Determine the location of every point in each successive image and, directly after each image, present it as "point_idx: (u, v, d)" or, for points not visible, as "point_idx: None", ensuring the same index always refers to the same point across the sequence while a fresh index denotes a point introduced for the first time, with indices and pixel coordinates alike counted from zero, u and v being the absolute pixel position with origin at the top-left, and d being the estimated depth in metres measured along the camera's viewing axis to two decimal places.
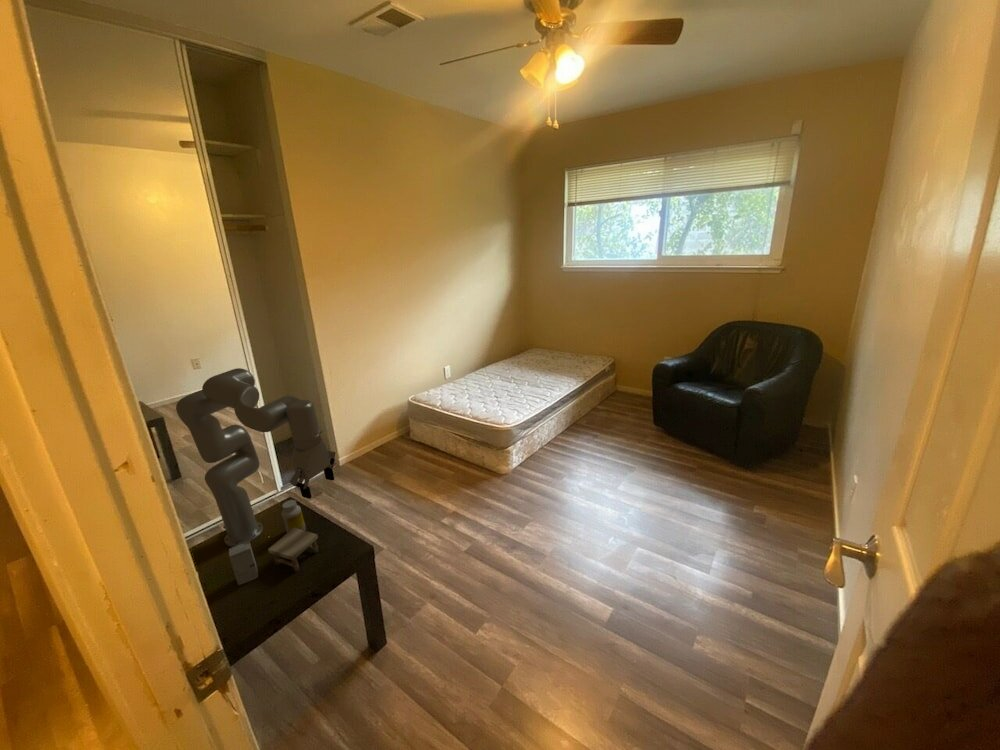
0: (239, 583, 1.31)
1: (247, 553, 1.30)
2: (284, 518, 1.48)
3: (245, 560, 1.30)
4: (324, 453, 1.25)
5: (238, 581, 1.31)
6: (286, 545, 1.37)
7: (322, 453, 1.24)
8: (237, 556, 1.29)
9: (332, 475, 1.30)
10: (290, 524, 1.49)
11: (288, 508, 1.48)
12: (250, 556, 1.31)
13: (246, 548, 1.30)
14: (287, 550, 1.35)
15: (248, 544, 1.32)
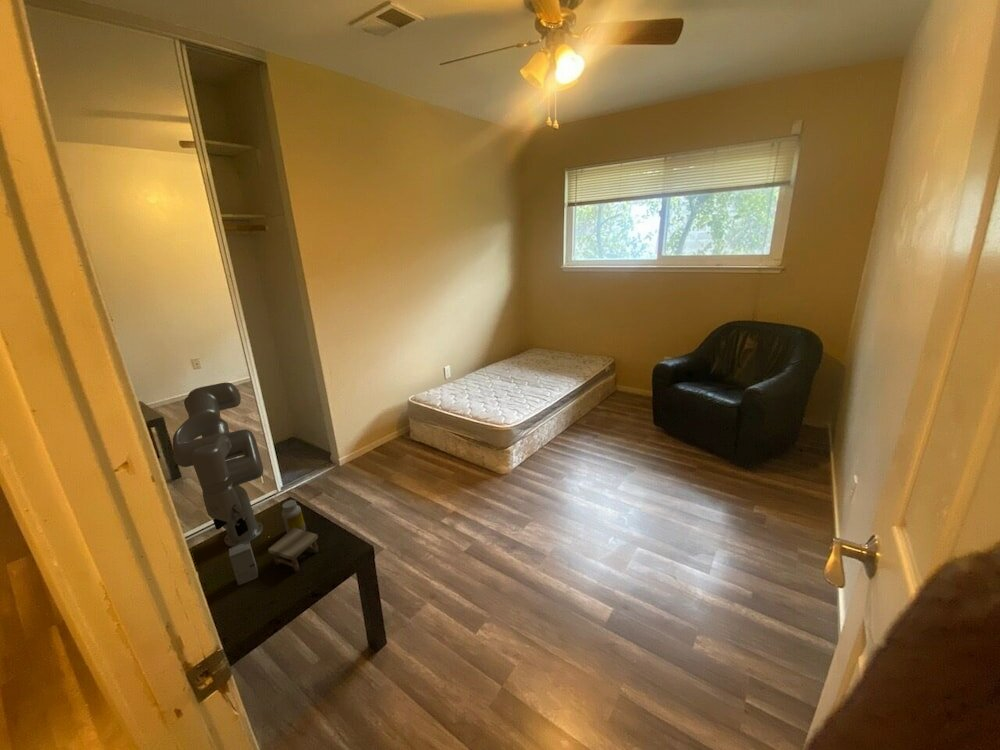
0: (239, 583, 1.31)
1: (247, 553, 1.30)
2: (284, 518, 1.48)
3: (245, 560, 1.30)
4: None
5: (238, 581, 1.31)
6: (286, 545, 1.37)
7: None
8: (237, 556, 1.29)
9: None
10: (290, 524, 1.49)
11: (288, 508, 1.48)
12: (250, 556, 1.31)
13: (246, 548, 1.30)
14: (287, 550, 1.35)
15: (248, 544, 1.32)
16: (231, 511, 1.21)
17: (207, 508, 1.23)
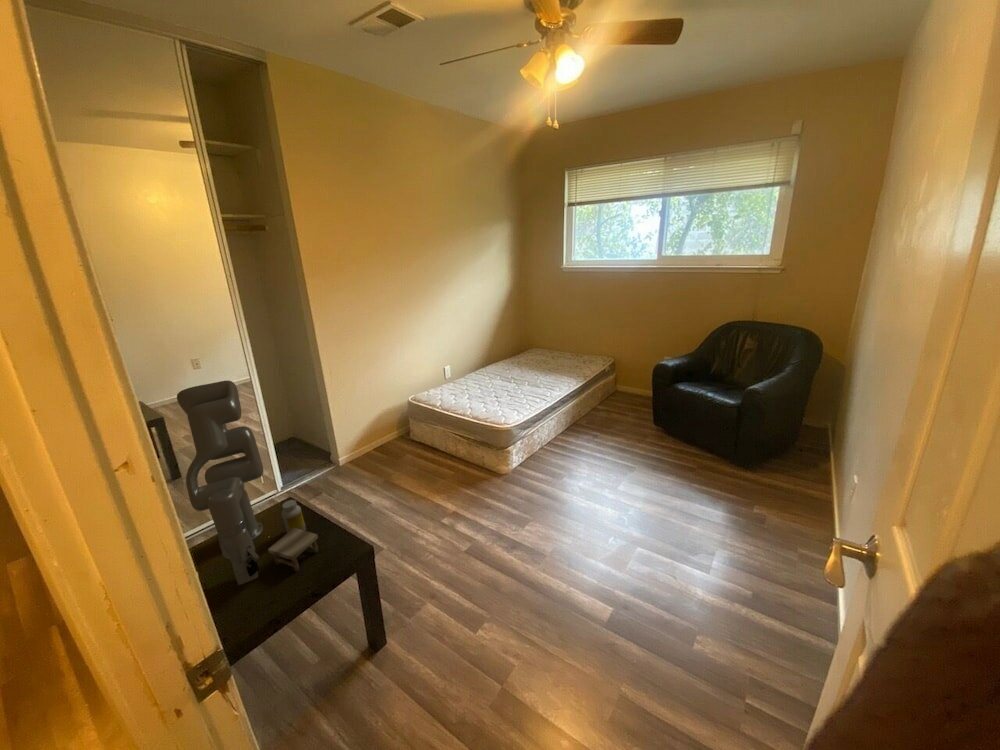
0: (239, 583, 1.31)
1: None
2: (284, 518, 1.48)
3: None
4: None
5: (238, 581, 1.31)
6: (286, 545, 1.37)
7: None
8: None
9: None
10: (290, 524, 1.49)
11: (288, 508, 1.48)
12: None
13: None
14: (287, 550, 1.35)
15: None
16: (245, 553, 1.27)
17: (222, 549, 1.29)
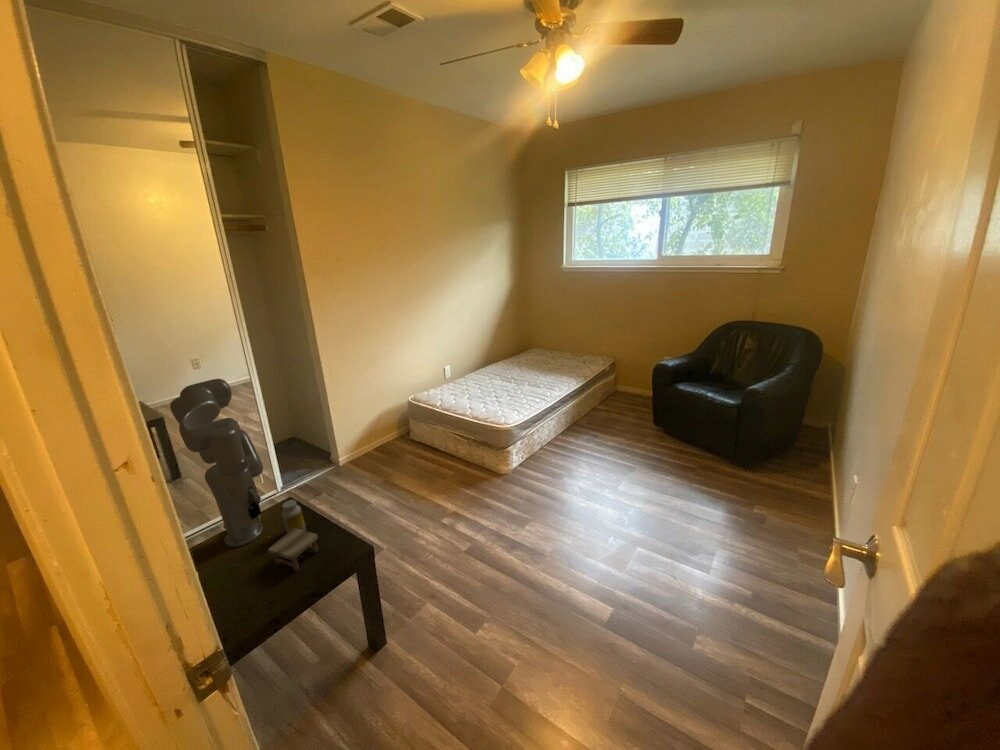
0: (240, 526, 1.26)
1: None
2: (284, 518, 1.48)
3: None
4: None
5: (239, 524, 1.26)
6: (286, 545, 1.37)
7: None
8: None
9: None
10: (290, 524, 1.49)
11: (288, 508, 1.48)
12: None
13: None
14: (287, 550, 1.35)
15: None
16: (246, 493, 1.22)
17: (223, 489, 1.24)
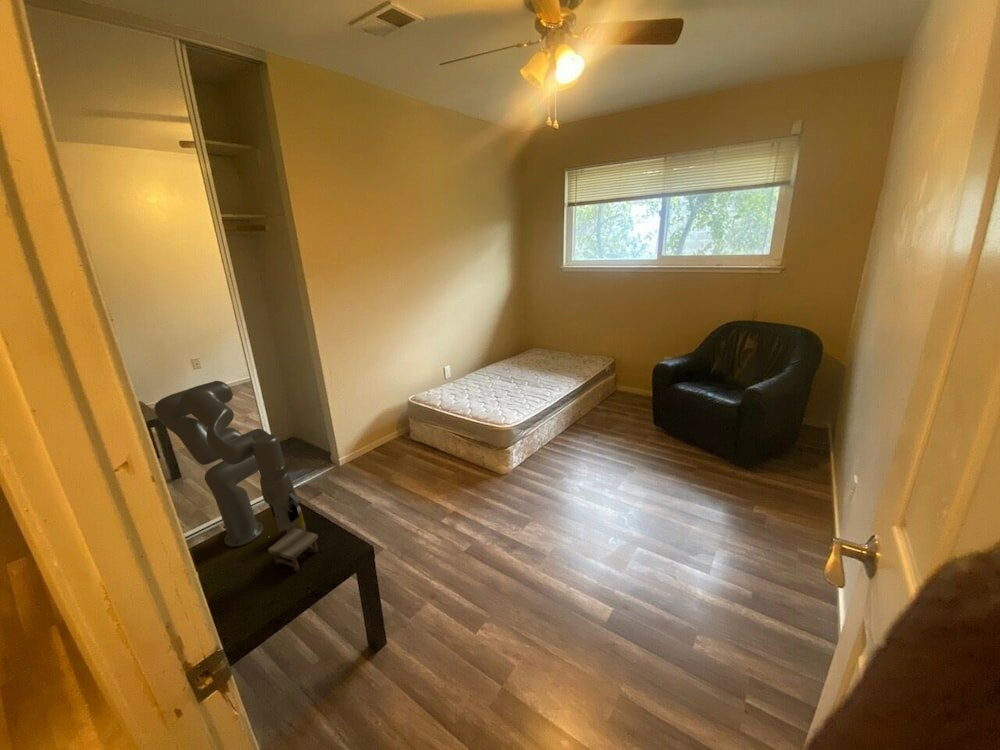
0: (280, 528, 1.33)
1: None
2: None
3: None
4: None
5: (279, 527, 1.33)
6: (286, 545, 1.37)
7: None
8: None
9: None
10: None
11: None
12: None
13: None
14: (287, 550, 1.35)
15: None
16: (287, 497, 1.29)
17: (264, 494, 1.31)
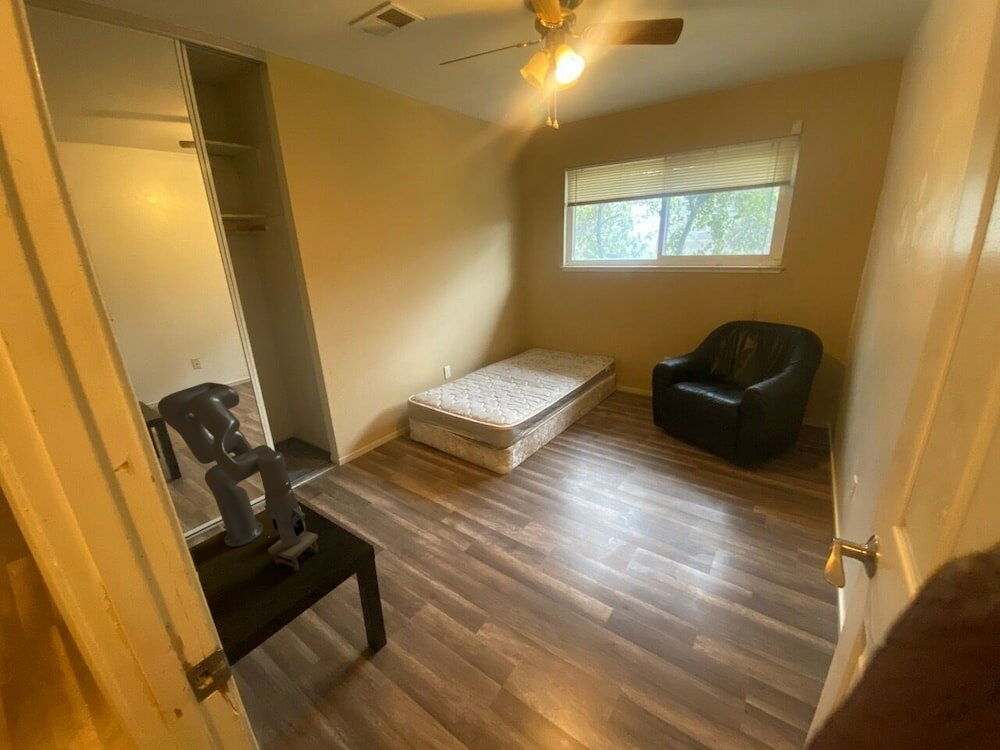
0: (284, 546, 1.36)
1: None
2: None
3: (290, 524, 1.35)
4: None
5: (283, 544, 1.36)
6: None
7: None
8: None
9: None
10: None
11: None
12: (295, 520, 1.36)
13: None
14: (287, 550, 1.35)
15: None
16: (291, 513, 1.31)
17: (268, 509, 1.33)
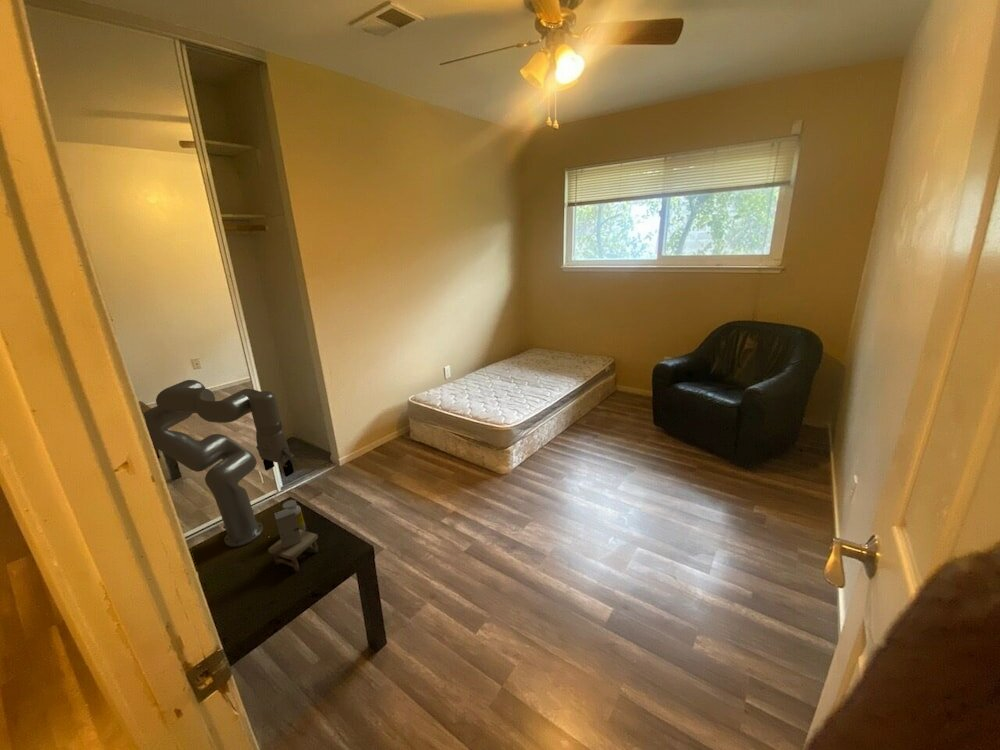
0: (284, 546, 1.36)
1: (292, 517, 1.35)
2: None
3: (290, 524, 1.35)
4: None
5: (283, 544, 1.36)
6: None
7: None
8: (283, 520, 1.34)
9: (273, 461, 1.43)
10: None
11: None
12: (295, 520, 1.36)
13: (291, 512, 1.35)
14: (287, 550, 1.35)
15: (292, 509, 1.37)
16: (281, 453, 1.34)
17: (259, 449, 1.36)
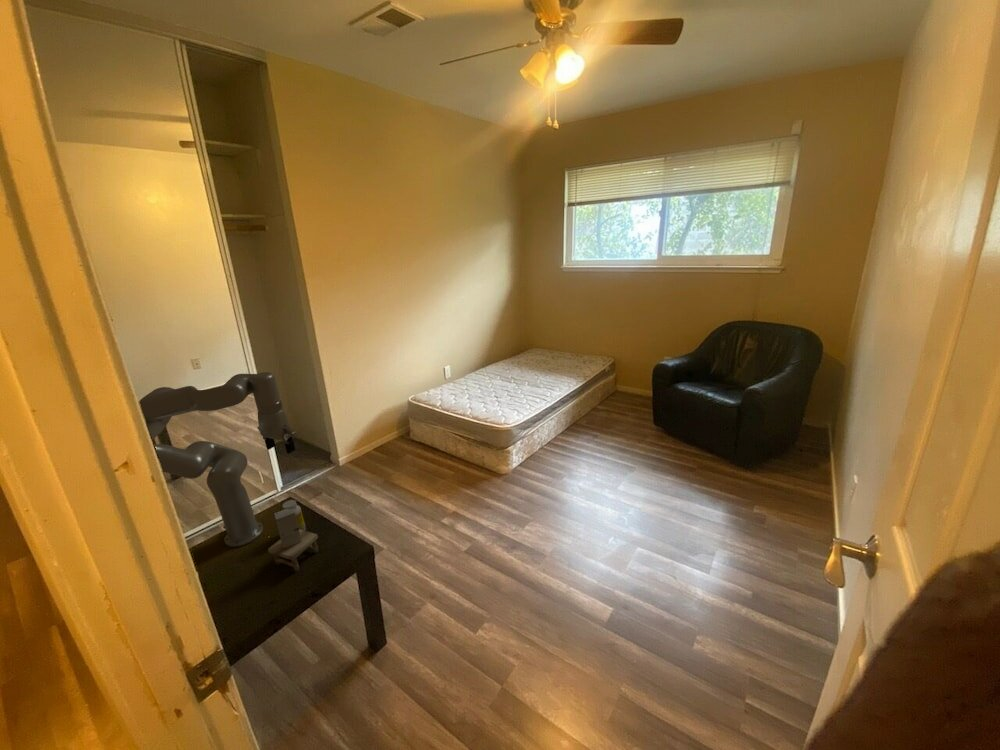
0: (284, 546, 1.36)
1: (292, 517, 1.35)
2: None
3: (290, 524, 1.35)
4: None
5: (283, 544, 1.36)
6: None
7: None
8: (283, 520, 1.34)
9: None
10: None
11: None
12: (295, 520, 1.36)
13: (291, 512, 1.35)
14: (287, 550, 1.35)
15: (292, 509, 1.37)
16: (282, 430, 1.41)
17: (261, 428, 1.43)
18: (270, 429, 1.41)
